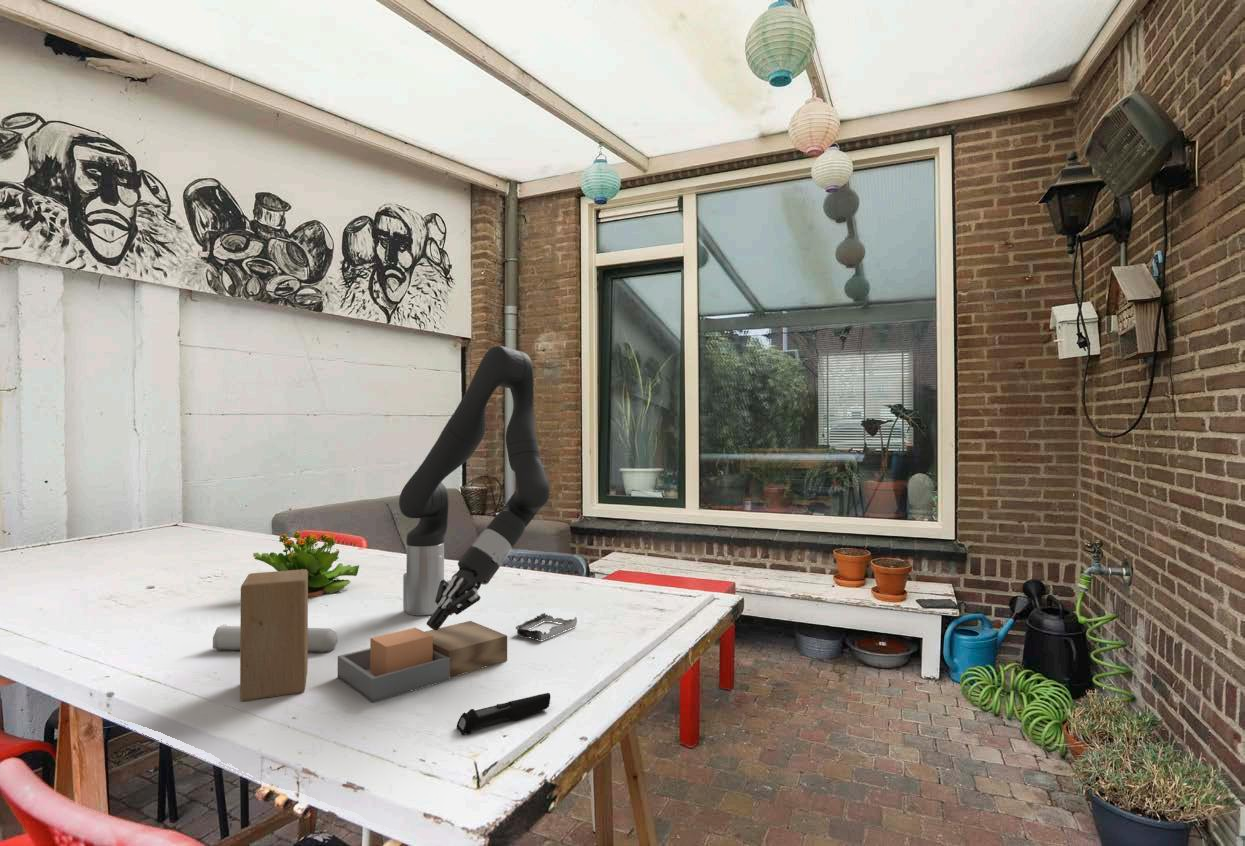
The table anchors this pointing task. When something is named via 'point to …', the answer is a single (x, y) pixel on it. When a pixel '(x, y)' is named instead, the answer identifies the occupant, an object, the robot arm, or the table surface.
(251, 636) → the wooden block
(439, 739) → the table surface
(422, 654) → the terracotta block
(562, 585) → the table surface
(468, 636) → the square wooden plinth
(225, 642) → the tube
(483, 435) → the robot arm
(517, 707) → the electric trimmer
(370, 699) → the box
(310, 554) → the potted flower
